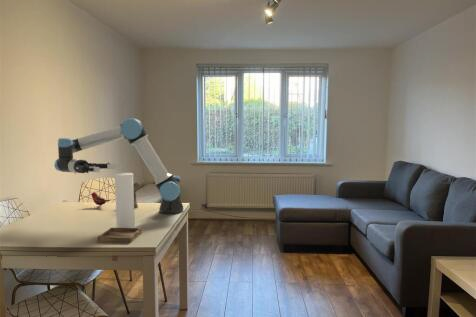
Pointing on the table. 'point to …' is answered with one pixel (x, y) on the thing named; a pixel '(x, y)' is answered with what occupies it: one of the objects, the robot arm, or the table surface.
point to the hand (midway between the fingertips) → (108, 168)
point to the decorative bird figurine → (98, 199)
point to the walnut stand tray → (120, 235)
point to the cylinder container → (124, 200)
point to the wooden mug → (135, 194)
